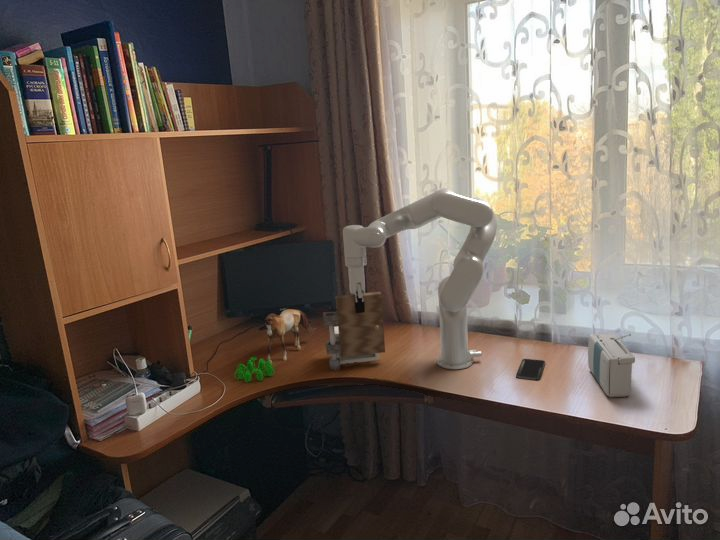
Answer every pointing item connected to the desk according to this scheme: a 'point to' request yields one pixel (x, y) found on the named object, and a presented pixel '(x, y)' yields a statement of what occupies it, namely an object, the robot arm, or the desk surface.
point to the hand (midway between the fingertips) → (359, 310)
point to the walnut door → (357, 326)
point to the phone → (530, 369)
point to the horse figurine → (286, 327)
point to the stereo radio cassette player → (610, 364)
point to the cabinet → (338, 360)
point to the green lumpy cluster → (254, 370)
